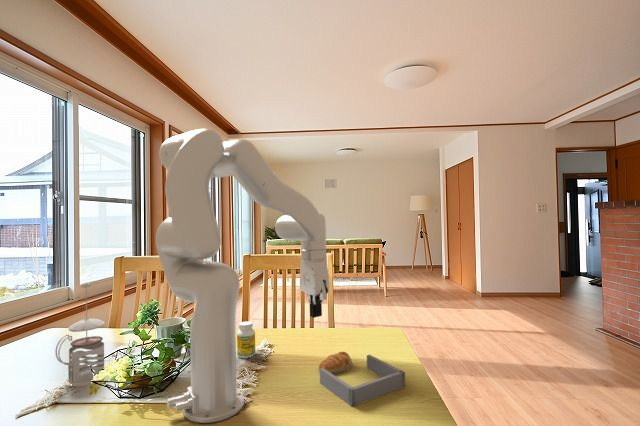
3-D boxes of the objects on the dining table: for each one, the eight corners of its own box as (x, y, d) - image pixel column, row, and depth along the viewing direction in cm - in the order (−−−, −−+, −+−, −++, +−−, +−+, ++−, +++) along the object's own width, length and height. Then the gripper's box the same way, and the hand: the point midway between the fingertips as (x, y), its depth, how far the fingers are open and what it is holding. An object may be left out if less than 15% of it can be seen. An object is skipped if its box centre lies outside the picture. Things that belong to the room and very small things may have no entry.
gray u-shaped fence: (351, 406, 76) (351, 390, 76) (320, 383, 87) (319, 368, 87) (405, 386, 84) (404, 372, 84) (369, 367, 95) (369, 354, 95)
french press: (116, 375, 93) (115, 281, 94) (65, 393, 84) (64, 289, 84) (98, 366, 99) (97, 278, 99) (49, 383, 89) (48, 285, 89)
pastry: (329, 379, 89) (329, 364, 89) (312, 370, 94) (312, 356, 94) (355, 368, 95) (354, 354, 95) (337, 361, 100) (337, 347, 100)
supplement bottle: (252, 350, 109) (252, 319, 109) (257, 356, 104) (257, 324, 104) (235, 353, 106) (234, 322, 107) (239, 360, 102) (239, 326, 102)
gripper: (291, 254, 109) (293, 312, 109) (316, 258, 96) (318, 325, 96) (312, 251, 113) (313, 308, 113) (338, 256, 100) (340, 320, 100)
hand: (316, 316), depth 105 cm, fingers closed
